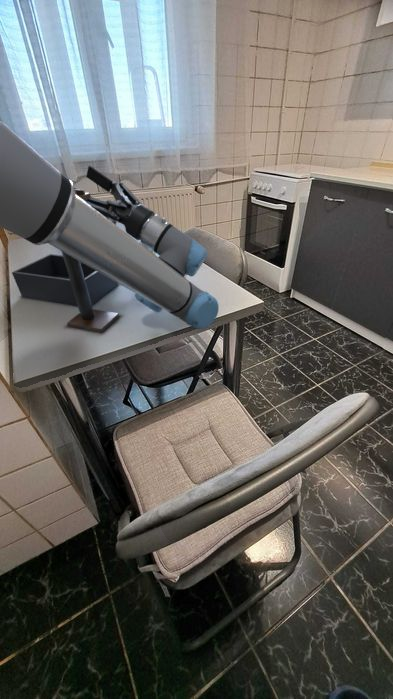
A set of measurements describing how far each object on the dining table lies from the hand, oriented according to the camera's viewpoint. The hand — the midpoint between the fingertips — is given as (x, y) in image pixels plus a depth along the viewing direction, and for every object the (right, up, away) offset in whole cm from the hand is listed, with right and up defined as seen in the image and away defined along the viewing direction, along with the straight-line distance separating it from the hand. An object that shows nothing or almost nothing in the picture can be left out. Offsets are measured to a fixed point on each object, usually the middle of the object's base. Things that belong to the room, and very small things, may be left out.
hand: (70, 174), depth 68 cm
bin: (-9, -23, +22) cm, 32 cm away
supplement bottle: (+12, -8, +40) cm, 43 cm away
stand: (+3, -34, +7) cm, 34 cm away
